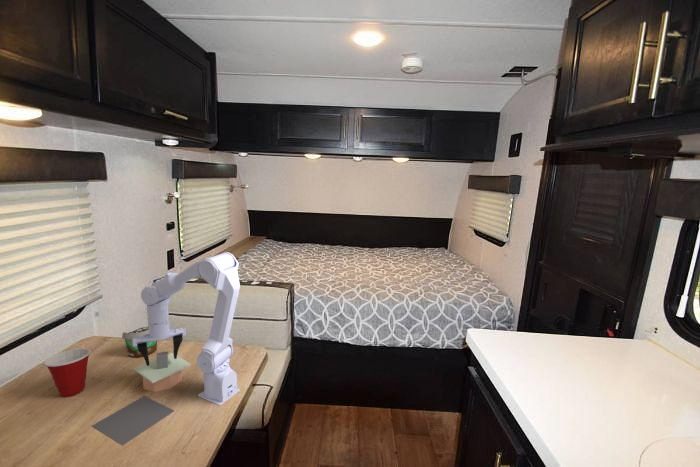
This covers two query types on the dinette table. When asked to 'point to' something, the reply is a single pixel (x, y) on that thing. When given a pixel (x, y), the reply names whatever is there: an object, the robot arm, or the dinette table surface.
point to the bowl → (163, 382)
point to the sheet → (162, 372)
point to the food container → (134, 351)
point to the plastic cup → (69, 371)
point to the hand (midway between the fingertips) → (161, 360)
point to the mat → (132, 420)
